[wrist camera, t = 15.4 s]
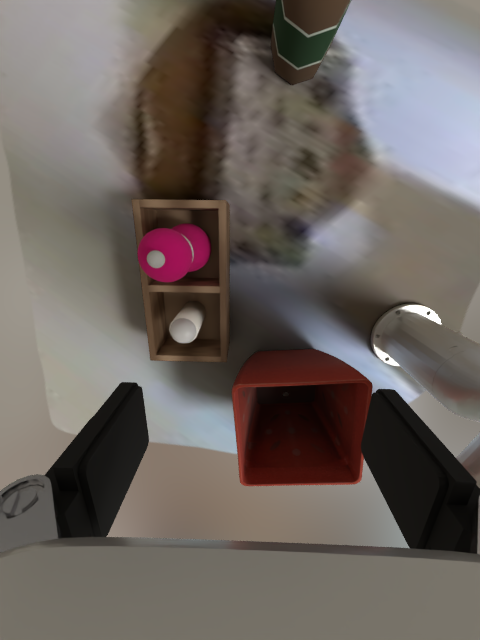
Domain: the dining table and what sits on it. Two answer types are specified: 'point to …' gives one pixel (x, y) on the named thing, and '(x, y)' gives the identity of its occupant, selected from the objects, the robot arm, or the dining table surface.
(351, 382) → the plant pot
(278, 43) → the beer bottle
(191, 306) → the salt shaker
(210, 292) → the caddy
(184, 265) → the pepper mill
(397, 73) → the dining table surface
